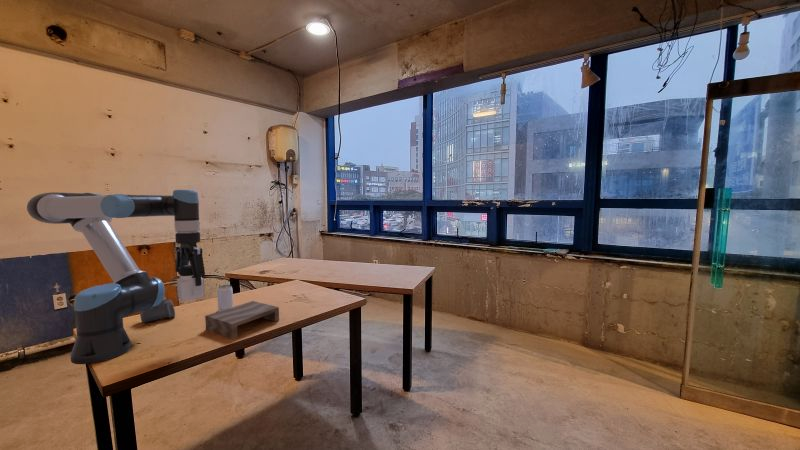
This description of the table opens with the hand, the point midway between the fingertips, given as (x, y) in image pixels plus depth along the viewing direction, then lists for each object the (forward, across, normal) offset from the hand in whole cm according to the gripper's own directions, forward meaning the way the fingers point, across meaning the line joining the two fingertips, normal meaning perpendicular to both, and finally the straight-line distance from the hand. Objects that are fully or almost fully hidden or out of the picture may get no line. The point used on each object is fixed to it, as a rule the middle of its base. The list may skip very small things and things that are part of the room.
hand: (191, 292), depth 115 cm
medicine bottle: (+2, 0, 0) cm, 2 cm away
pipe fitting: (+19, +38, -4) cm, 43 cm away
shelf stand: (+19, 0, -20) cm, 28 cm away
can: (+19, +24, -27) cm, 41 cm away
